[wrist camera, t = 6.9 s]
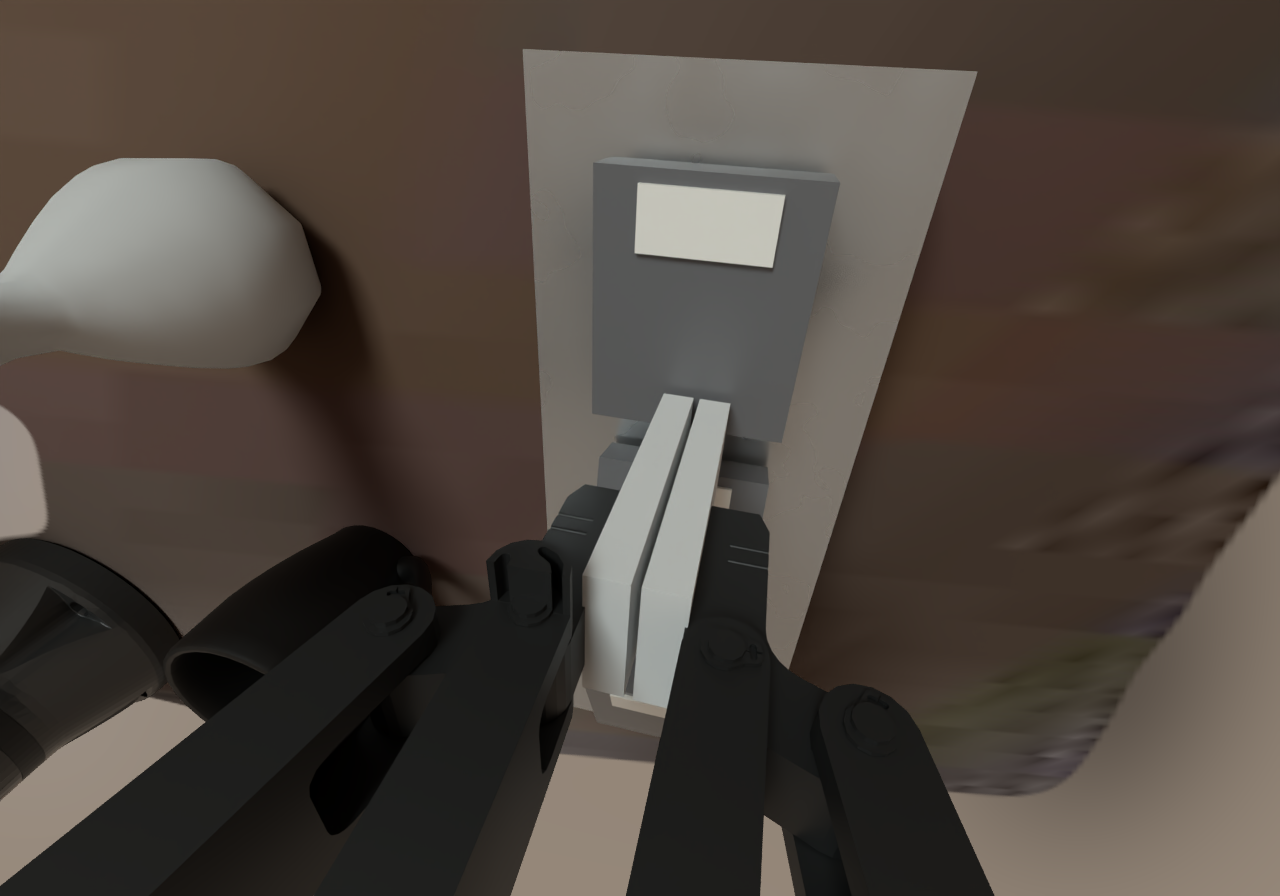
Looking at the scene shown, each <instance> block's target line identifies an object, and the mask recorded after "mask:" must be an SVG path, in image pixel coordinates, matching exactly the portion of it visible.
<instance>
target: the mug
mask: <svg viewBox="0 0 1280 896" xmlns="http://www.w3.org/2000/svg"><path fill="white" fill-rule="evenodd" d="M391 585H412V586H416V587H420V588H423V589H424V590H425V591H426V592H428V593H429V594H430V595H431V596H432V582H431V575H430V572H429V569H428V567H427V565H426V563H425V562H424V561H423V560H422V559H420V558H419V557H414V556H412V555H411V553H410V552H409V551H408V550H407V549H406V548H405V547H404V546H403V545H402V544H401V543H400V542H399V541H397V540H396V539H395V538H393V537H392V536H390V535H388V534H386V533H384V532H382V531H380V530H377V529H375V528H371V527H366V526H350V527H345V528H343V529H341V530H340V531H338V532H336V533H335V534H333V535H331V536H329V537H327V538H325V539H323V540H321V541H319V542H317V543H315V544H313V545H311V546H309V547H307V548H305V549H303V550H301V551H300V552H298V553H296V554H294V555H292V556H291V557H289V558H287V559H285V560H284V561H282V562H280V563H279V564H277V565H275V566H274V567H272V568H270V569H269V570H267V571H266V572H264V573H263V574H261V575H260V576H258V577H256V578H255V579H253V580H252V581H250V582H249V583H248V584H246V585H245V586H243V587H242V588H241V589H239V590H238V591H236V592H235V593H234V594H232V595H231V596H230V597H228V598H227V599H226V600H225V601H224V602H223V603H221V604H220V605H219V606H218V607H217V608H216V609H214V610H213V611H212V612H211V613H210V614H209V615H208V616H206V617H205V618H204V619H203V620H202V621H201V622H200V623H199V624H197V625H196V626H195V627H194V628H193V629H192V630H191V631H190V632H188V633H187V634H186V635H185V636H184V637H183V638H182V639H181V640H179V641H178V642H177V643H176V644H175V645H174V646H173V647H172V648H170V650H169V651H168V653H167V655H166V656H165V658H164V660H163V671H164V674H165V676H166V679H167V681H168V683H169V684H170V686H171V687H172V689H173V690H174V692H175V693H176V695H177V696H178V697H179V698H180V699H181V700H182V701H183V702H184V703H185V704H186V706H188V707H189V708H190V709H191V710H192V711H193V712H194V713H196V714H197V715H198V716H199V717H200V718H201V719H203V720H204V721H205V722H207V721H208V720H209V719H210V718H212V717H213V716H214V715H215V714H217V713H218V712H219V711H220V710H222V709H223V708H224V707H225V706H227V705H228V704H229V703H230V702H232V701H233V700H234V699H235V698H237V697H238V696H239V695H240V694H242V693H243V692H244V691H245V690H247V689H248V688H249V687H250V686H252V685H253V684H254V683H255V682H257V681H258V680H259V679H260V678H262V677H263V676H264V675H265V674H267V673H268V672H269V671H270V670H272V669H273V668H274V667H275V666H277V665H278V664H279V663H280V662H282V661H283V660H284V659H286V658H287V657H288V656H289V655H291V654H292V653H293V652H294V651H296V650H297V649H298V648H299V647H301V646H302V645H303V644H304V643H306V642H307V641H308V640H309V639H311V638H312V637H313V636H314V635H316V634H317V633H318V632H319V631H321V630H322V629H323V628H324V627H326V626H327V625H328V624H329V623H331V622H332V621H333V620H334V619H336V618H337V617H338V616H339V615H341V614H342V613H343V612H344V611H346V610H347V609H348V608H349V607H351V606H352V605H353V604H354V603H356V602H357V601H358V600H360V599H361V598H363V597H365V596H366V595H368V594H370V593H371V592H373V591H375V590H378V589H382V588H385V587H388V586H391Z"/></svg>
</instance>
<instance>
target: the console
mask: <svg viewBox="0 0 1280 896" xmlns="http://www.w3.org/2000/svg"><path fill="white" fill-rule="evenodd" d="M523 63H524V83H525V102H526V122H527V141H528V160H529V180H530V199H531V219H532V238H533V257H534V277H535V296H536V316H537V335H538V354H539V374H540V393H541V413H542V432H543V451H544V471H545V490H546V510H547V529H548V530H549V529H550V528H551V525H552V523H553V521H554V519H555V518H556V516H558V514H559V511H560V509H561V507H562V506H563V504H564V502H565V500H566V499H567V497H568V496H569V495H570V494H572V493H573V492H575V491H576V490H578V489H579V488H580V487H582V486H583V485H585V484H587V485H593V486H597V478H598V467H599V457H600V456H601V454H602V453H603V452H604V451H605V450H606V449H607V448H608V446H609V445H610V444H611V443H612V442H614V443H620V444H627V445H633V446H639V447H640V446H641V443H642V441H643V439H644V437H645V434H646V432H647V430H648V428H649V425H650V423H648V422H642V421H635V420H629V419H622V418H616V417H609V416H603V415H596V414H592V303H593V162H596V161H599V160H603V159H606V158H609V157H612V156H614V157H627V158H640V159H652V160H665V161H677V162H690V163H703V164H715V165H728V166H741V167H753V168H766V169H778V170H791V171H804V172H816V173H829V174H834V175H835V176H836V177H837V179H838V180H839V181H840V187H839V191H838V195H837V200H836V204H835V209H834V213H833V218H832V222H831V227H830V231H829V235H828V240H827V244H826V249H825V253H824V258H823V262H822V266H821V271H820V275H819V280H818V284H817V289H816V293H815V297H814V302H813V306H812V311H811V315H810V320H809V324H808V329H807V333H806V337H805V342H804V346H803V351H802V355H801V360H800V364H799V368H798V373H797V377H796V382H795V386H794V391H793V395H792V400H791V404H790V408H789V413H788V417H787V422H786V426H785V431H784V435H783V439H782V443H778V442H771V441H765V440H759V439H752V438H746V437H739V436H733V435H726V434H725V441H724V447H723V453H722V459H721V460H726V461H732V462H738V463H744V464H750V465H757V466H763V467H768V479H769V488H768V493H767V498H766V503H765V509H764V514H763V521H764V523H765V525H766V527H767V528H768V530H769V532H770V540H769V565H768V589H767V614H766V634H767V640H768V643H769V645H770V648H771V650H772V652H773V653H774V654H775V656H776V657H777V659H778V660H779V661H780V662H781V663H782V664H783V665H784V666H785V667H786V668H787V669H788V670H789V666H790V663H791V660H792V657H793V654H794V651H795V647H796V644H797V641H798V638H799V635H800V632H801V628H802V625H803V622H804V619H805V616H806V613H807V609H808V606H809V603H810V600H811V597H812V594H813V591H814V587H815V584H816V581H817V578H818V575H819V572H820V568H821V565H822V562H823V559H824V556H825V553H826V549H827V546H828V543H829V540H830V537H831V534H832V530H833V527H834V524H835V521H836V518H837V515H838V511H839V508H840V505H841V502H842V499H843V496H844V493H845V489H846V486H847V483H848V480H849V477H850V474H851V470H852V467H853V464H854V461H855V458H856V455H857V451H858V448H859V445H860V442H861V439H862V436H863V432H864V429H865V426H866V423H867V420H868V417H869V413H870V410H871V407H872V404H873V401H874V398H875V395H876V391H877V388H878V385H879V382H880V379H881V376H882V372H883V369H884V366H885V363H886V360H887V357H888V353H889V350H890V347H891V344H892V341H893V338H894V334H895V331H896V328H897V325H898V322H899V319H900V315H901V312H902V309H903V306H904V303H905V300H906V297H907V293H908V290H909V287H910V284H911V281H912V278H913V274H914V271H915V268H916V265H917V262H918V259H919V255H920V252H921V249H922V246H923V243H924V240H925V236H926V233H927V230H928V227H929V224H930V221H931V217H932V214H933V211H934V208H935V205H936V202H937V199H938V195H939V192H940V189H941V186H942V183H943V180H944V176H945V173H946V170H947V167H948V164H949V161H950V157H951V154H952V151H953V148H954V145H955V142H956V138H957V135H958V132H959V129H960V126H961V123H962V119H963V116H964V113H965V110H966V107H967V104H968V101H969V97H970V94H971V91H972V88H973V85H974V82H975V78H976V75H977V72H975V71H954V70H934V69H914V68H894V67H874V66H854V65H834V64H814V63H793V62H773V61H753V60H733V59H713V58H693V57H673V56H653V55H632V54H612V53H592V52H572V51H552V50H532V49H523ZM690 430H691V429H690ZM573 707H577V708H581V709H585V710H590V711H593V709H592V706H591V704H590V701H589V698H588V695H587V692H586V689H585V688H584V687H582V673H581V676H580V678H579V681H578V684H577V686H576V689H575V692H574V705H573Z"/></svg>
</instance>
